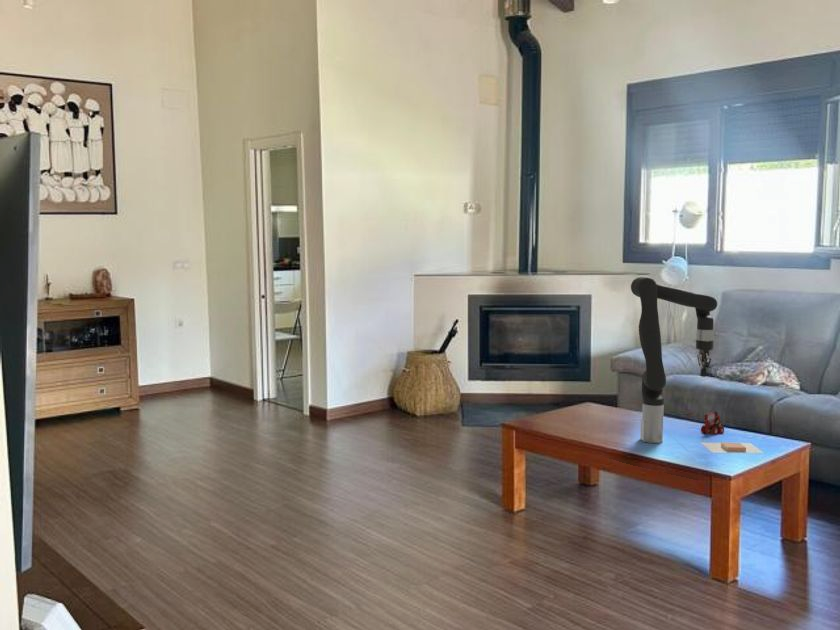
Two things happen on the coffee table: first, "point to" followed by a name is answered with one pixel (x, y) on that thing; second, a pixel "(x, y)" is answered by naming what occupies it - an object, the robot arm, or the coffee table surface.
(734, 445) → the tile
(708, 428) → the red wheeled toy
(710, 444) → the stone board
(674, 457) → the coffee table surface
